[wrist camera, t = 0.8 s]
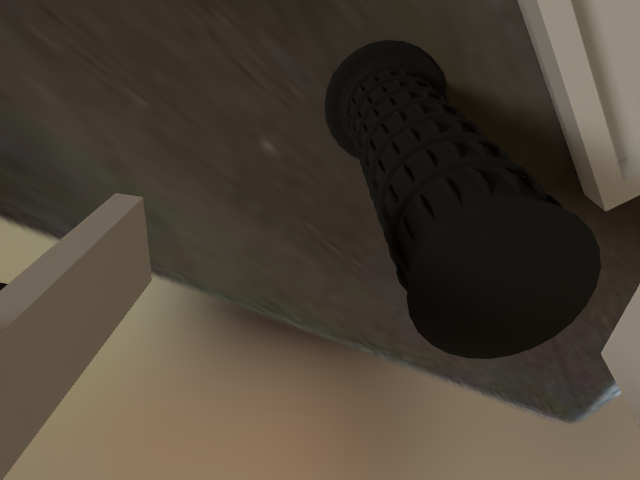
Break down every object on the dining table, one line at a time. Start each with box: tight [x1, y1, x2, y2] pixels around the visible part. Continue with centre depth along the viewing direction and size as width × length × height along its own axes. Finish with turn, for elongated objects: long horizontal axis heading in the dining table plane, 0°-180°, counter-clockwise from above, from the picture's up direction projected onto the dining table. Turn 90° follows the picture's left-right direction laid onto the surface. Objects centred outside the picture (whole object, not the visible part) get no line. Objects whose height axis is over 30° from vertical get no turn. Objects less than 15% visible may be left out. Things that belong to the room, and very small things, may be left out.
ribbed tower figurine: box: [325, 40, 601, 359], centre depth 28 cm, size 10×26×10 cm
